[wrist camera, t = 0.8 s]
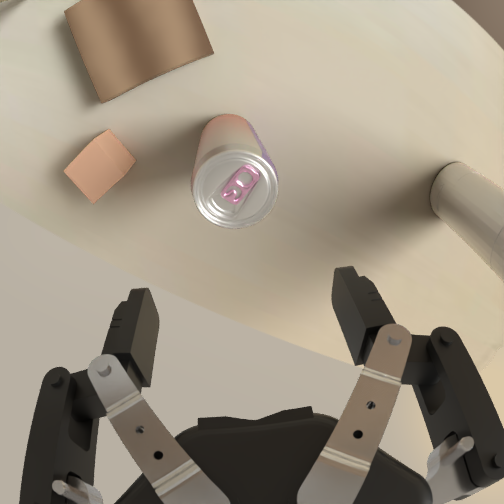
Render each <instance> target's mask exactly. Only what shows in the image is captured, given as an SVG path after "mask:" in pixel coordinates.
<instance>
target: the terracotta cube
mask: <svg viewBox="0 0 504 504" xmlns="http://www.w3.org/2000/svg"><path fill="white" fill-rule="evenodd" d="M135 161H136V160H135V158H134V157H133V156H132V155H131V154H130V153H129V152H128V150H127V149H126V148H125V147H124V146H123V145H122V143H121V142H120V141H119V140H118V139H117V138H116V136H115V135H114V134H113V133H112V132H111V131H110V129H108V130H106V131H105V132H103V133H102V134H100V135H99V136H97V137H96V138H95V139H93V140H92V141H91V142H90V143H89V144H88V145H87V146H86V147H85V148H84V149H83V150H82V151H81V153H80V154H79V155H78V156H77V157H76V158H75V159H74V160H73V161H72V162H71V163H70V164H69V165H68V167H67V168H66V169H65V170H64V172H65V173H66V175H67V176H68V177H69V178H70V179H71V180H72V181H73V182H74V184H75V185H76V186H77V187H78V188H79V189H80V190H81V191H82V192H83V193H84V194H85V196H86V197H87V198H88V199H89V200H90V201H91V202H92V203H93V204H94V203H95V202H96V201H97V200H98V199H99V198H100V197H101V196H103V195H104V194H105V193H106V192H107V191H108V190H109V189H110V188H111V187H112V186H113V185H114V184H116V183H117V182H118V181H119V180H120V179H121V178H122V177H123V176H124V175H125V174H126V173H127V172H128V170H129V169H130V168H131V166H132V165H133V164H134V163H135Z"/></svg>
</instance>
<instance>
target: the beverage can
mask: <svg viewBox="0 0 504 504" xmlns="http://www.w3.org/2000/svg"><path fill="white" fill-rule="evenodd" d="M191 191H192V195H193V198H194V202H195V204H196V207H197V209H198V210H199V212H200V213H201V214H202V215H203V216H204V217H205V218H206V219H207V220H208V221H210V222H211V223H213V224H215V225H217V226H220V227H223V228H229V229H239V228H245V227H249V226H251V225H254V224H256V223H258V222H259V221H261V220H262V219H263V218H265V217H266V216H267V215H268V214H269V212H270V211H271V210H272V208H273V206H274V204H275V202H276V199H277V195H278V175H277V171H276V169H275V166H274V164H273V163H272V161H271V159H270V157H269V155H268V153H267V152H266V150H265V148H264V146H263V144H262V143H261V141H260V139H259V137H258V136H257V134H256V132H255V130H254V128H253V127H252V125H251V124H250V123H249V122H248V121H247V120H246V119H244V118H242V117H240V116H238V115H233V114H225V115H220V116H218V117H215V118H214V119H212V120H211V121H210V122H208V124H207V125H206V126H205V127H204V129H203V131H202V134H201V138H200V142H199V146H198V151H197V155H196V160H195V164H194V169H193V173H192V178H191Z"/></svg>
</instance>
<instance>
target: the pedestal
mask: <svg viewBox="0 0 504 504" xmlns="http://www.w3.org/2000/svg"><path fill="white" fill-rule="evenodd" d="M64 13H65V16H66V19H67V21H68V24H69V26H70V29H71V32H72V34H73V37H74V39H75V42H76V44H77V47H78V49H79V52H80V54H81V57H82V59H83V62H84V64H85V66H86V69H87V71H88V74H89V76H90V78H91V81H92V83H93V85H94V87H95V90H96V92H97V94H98V96H99V99H100V101H101V103H105V102H107V101H110V100H112V99H114V98H116V97H118V96H119V95H121V94H123V93H125V92H127V91H129V90H131V89H133V88H135V87H137V86H139V85H141V84H143V83H145V82H147V81H149V80H152V79H154V78H156V77H158V76H160V75H163V74H165V73H167V72H169V71H172V70H174V69H176V68H179V67H181V66H184V65H186V64H189V63H191V62H194V61H196V60H199V59H201V58H204V57H207V56H210V55H212V54H214V52H213V49H212V47H211V44H210V42H209V39H208V37H207V34H206V32H205V29H204V27H203V24H202V22H201V19H200V17H199V15H198V12H197V10H196V7H195V5H194V3H193V0H81V1H79V2H78V3H76V4H75V5H73V6H72V7H70V8H68V9H67V10H65V11H64Z"/></svg>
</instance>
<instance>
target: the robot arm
mask: <svg viewBox="0 0 504 504" xmlns="http://www.w3.org/2000/svg"><path fill="white" fill-rule="evenodd" d="M430 202H431V207H432V209H433V211H434V213H435V214H436V215H437V216H439V217H440V218H441V219H442V220H443V221H444V222H445V223H446V224H447V225H448V226H449V227H450V228H451V229H452V230H453V231H455V232H456V233H457V234H458V235H459V236H460V237H461V238H462V239H463V240H464V241H465V242H466V243H467V244H468V245H469V246H470V247H471V248H472V249H473V250H474V251H475V252H476V253H477V254H478V255H479V256H480V257H481V258H482V259H483V260H484V261H485V263H486V264H487V265H488V266H489V267H490V268H491V269H492V270H493V271H494V272H495V273H496V274H497V275H498V276H499V278H500V279H501V280H502V281H503V282H504V189H503V188H501V187H500V186H498V185H497V184H495V183H494V182H492V181H491V180H489V179H488V178H486V177H485V176H483V175H482V174H480V173H479V172H477V171H476V170H474V169H472V168H471V167H469V166H467V165H466V164H463V163H461V162H455V163H451V164H449V165H447V166H446V167H445V168H443V169H442V170H441V172H440V173H439V174H438V175H437V177H436V179H435V181H434V183H433V185H432V189H431V194H430ZM332 305H333V309H334V311H335V314H336V316H337V319H338V321H339V324H340V327H341V329H342V332H343V334H344V337H345V340H346V342H347V345H348V348H349V350H350V353H351V356H352V358H353V361H354V364H355V366H357V365H361V364H364V366H365V367H364V369H363V370H362V372H361V374H360V377H359V379H358V381H357V384H356V386H355V388H354V390H353V392H352V394H351V396H350V398H349V401H348V403H347V405H346V407H345V409H344V411H343V413H342V415H341V417H340V419H339V420H338V419H336V418H333V417H331V416H328V415H324V414H319V413H313V411H312V407H311V406H308V407H302V408H297V409H289V410H283V411H281V412H278V413H275V414H272V415H270V416H267V417H264V418H261V419H258V420H247V419H239V418H232V417H226V416H225V417H208V418H198V425H197V426H194V427H191V428H189V429H187V430H185V431H183V432H181V433H180V434H179V435H177V436H176V437H175V438H174V437H173V436H172V435H171V434H170V432H169V431H168V430H167V429H166V427H165V426H164V425H163V424H162V422H161V421H160V420H159V418H158V417H157V416H156V414H155V413H154V412H153V410H152V409H151V408H150V406H149V405H148V403H147V402H146V401H145V399H144V398H143V397H142V395H141V389H142V387H150V385H151V378H152V370H153V363H154V356H155V350H156V343H157V337H158V331H159V315H158V312H157V309H156V306H155V304H154V301H153V298H152V295H151V292H150V290H149V288H139V289H132V290H131V291H130V294H129V297H128V300H127V301H122V302H121V303H120V304H119V306H118V307H117V308H116V309H115V311H114V314H113V317H112V321H111V324H110V328H109V330H108V334H107V337H106V340H105V343H104V347H103V350H102V354H101V355H100V356H98V357H96V358H95V359H94V360H92V362H91V363H90V364H89V367H88V369H86V370H83V371H79V372H76V373H72V374H70V373H69V371H68V370H67V369H65V368H63V367H56V368H53V369H51V370H50V371H49V372H48V373H47V374H46V375H45V377H44V379H43V382H42V385H41V389H40V393H39V396H38V400H37V404H36V408H35V412H34V416H33V421H32V425H31V430H30V435H29V439H28V444H27V450H26V456H25V462H24V468H23V476H22V483H21V491H20V501H19V504H103V499H102V496H101V494H100V492H99V491H98V490H97V489H96V488H95V487H93V484H94V467H95V454H96V444H97V435H98V426H99V418H100V417H104V416H107V417H108V419H109V420H110V422H111V424H112V426H113V427H114V429H115V431H116V432H117V434H118V436H119V437H120V439H121V441H122V442H123V444H124V445H125V447H126V448H127V450H128V452H129V453H130V454H131V456H132V458H133V459H134V460H135V462H136V464H137V465H138V466H139V468H140V469H141V471H142V472H143V473H142V474H141V476H140V477H139V478H138V479H137V480H136V481H135V482H134V483H133V484H132V485H131V486H130V487H129V489H128V490H127V491H126V492H125V493H124V494H123V495H122V496H121V497H120V498H119V499H118V500H117V501H116V502H115V503H114V504H444V503H447V502H449V501H451V500H462V499H464V498H467V497H469V496H471V495H473V494H475V493H477V492H479V491H480V490H482V489H484V488H486V487H488V486H490V485H492V484H494V483H495V482H497V481H499V480H500V479H502V478H504V428H503V426H502V423H501V421H500V419H499V416H498V414H497V411H496V409H495V407H494V405H493V402H492V400H491V398H490V396H489V394H488V391H487V389H486V387H485V385H484V383H483V381H482V379H481V377H480V375H479V373H478V371H477V369H476V367H475V365H474V363H473V361H472V359H471V357H470V355H469V353H468V351H467V349H466V348H465V346H464V344H463V342H462V340H461V338H460V337H459V335H458V334H457V333H456V332H455V331H454V330H453V329H451V328H448V327H438V328H436V329H434V330H433V331H432V333H431V335H430V336H426V335H413V334H410V332H409V331H408V330H407V329H406V328H405V327H403V326H401V325H399V324H396V322H395V321H394V319H393V317H392V315H391V313H390V311H389V310H388V308H387V306H386V304H385V302H384V301H383V300H382V297H381V295H380V294H379V293H378V290H377V288H376V287H375V285H374V283H373V282H372V281H370V280H369V279H368V278H367V277H365V276H361V277H359V276H358V274H357V272H356V271H355V269H354V267H353V266H348V267H340V268H336V269H335V271H334V279H333V287H332ZM401 384H409V385H412V386H413V389H414V392H415V395H416V398H417V400H418V403H419V406H420V409H421V411H422V414H423V417H424V420H425V423H426V426H427V429H428V432H429V435H430V439H431V442H432V445H433V448H434V450H433V451H432V452H431V453H430V455H429V458H428V461H427V467H428V474H427V477H426V479H424V478H423V477H422V476H421V475H420V474H418V473H416V472H415V471H413V470H412V469H410V468H408V467H407V466H405V465H404V464H402V463H401V462H399V461H398V460H396V459H395V458H393V457H392V456H390V455H389V454H387V453H386V452H384V451H383V450H382V449H380V448H379V447H378V446H379V444H380V442H381V439H382V437H383V434H384V431H385V429H386V427H387V424H388V421H389V419H390V416H391V413H392V411H393V407H394V405H395V402H396V399H397V396H398V393H399V390H400V387H401Z"/></svg>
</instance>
